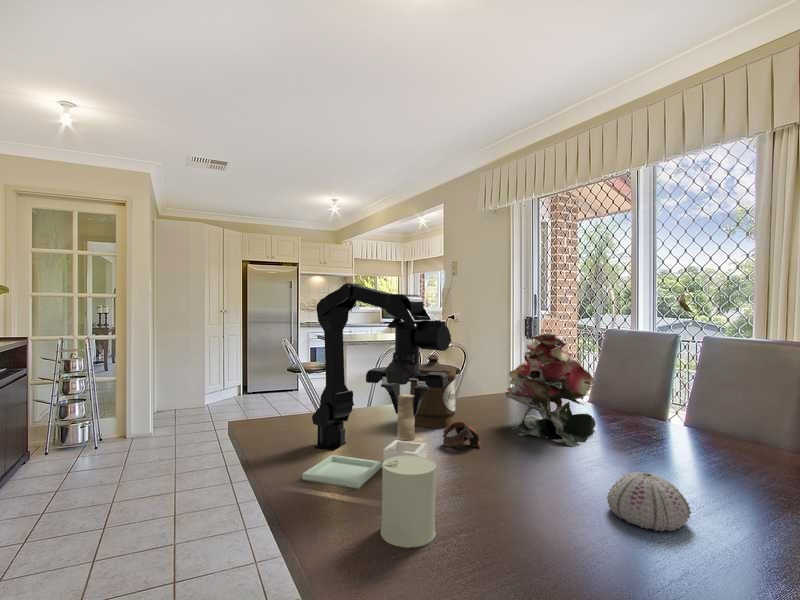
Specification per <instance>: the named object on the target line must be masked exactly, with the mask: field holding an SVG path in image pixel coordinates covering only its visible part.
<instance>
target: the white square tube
mask: <svg viewBox="0 0 800 600" xmlns="http://www.w3.org/2000/svg"><path fill="white" fill-rule="evenodd" d="M427 444H428V443H422V442H417V441H416V442H415V441H408V442H405V441H399V440H398V439H394V440H393V441H392V442H390V444H388V445H387V446H386V447H385V448H384V449H383V450H382V451H383V459H382V460H383V461H382V463H383V462H384V461H385V460H386V459H388V458H391V457H395V456H403V455H411V456H420V457H424V458H427V456H428V455H427V449H428V445H427Z"/></svg>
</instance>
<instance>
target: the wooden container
mask: <svg viewBox="0 0 800 600" xmlns="http://www.w3.org/2000/svg"><path fill="white" fill-rule="evenodd" d="M427 359H428V360H429V361H428V362H427V363H419V369H420V373H419V374H421V375H427V374H428V373H430V372H446V374H447V375H448V385H446V386H445V387H443V388H432V387H431V388H430V389H428V390H427V391H426V393H425V395H424V397H423V399H422V402H421V404H420V407H419V409H418V412H417V415H416V416H415V425H416V426H415V427H420V428H424V427H425V429H446V428H447V427H448V426H449V425H450V424H452V423H454V422H456V375H457V374H456V373H457V369H456V367H455V366H453V365H449V364H443V363H442V364H441V363H439V361H438V360H439V356H438V355H436V354H431V355H428V357H427ZM417 385H418V384H417V382H410V387H409V388H410V391H409V392H410V393H409V395H414V396H415V392H414V387H416V386H417Z"/></svg>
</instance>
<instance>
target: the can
mask: <svg viewBox="0 0 800 600" xmlns="http://www.w3.org/2000/svg"><path fill="white" fill-rule="evenodd" d="M381 471H382V473H381V474H382V478H381V480H382V481H381V482H382V483H381V486H382V487H381V489H382V490H381V491H382V492H381V493H382V495H381V497H382V499H381V528H380V536H381V538H382V539H383V540H384V541H385V542H386V543H388V544H389V545H391V546H395V547H398V546H399V547H400V548H406V549H407V548H408V549H411V548H412V547H413V548H420V547H423V546H426V545H428V544H430V543H431V542H433V541H434V539H435V537H436V534H437V533H436V527H435V525H436V523H435V521H436V519H435V518H436V507H435V506H436V474H437V473H436V472H437V464H436V462H435V461H433V460H432V459H430V458H424V457H420V456H411V455H403V456H395V457H391V458H388V459H386V460H385V461H384V462H383V461H382V468H381Z"/></svg>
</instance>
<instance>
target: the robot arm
mask: <svg viewBox="0 0 800 600" xmlns="http://www.w3.org/2000/svg"><path fill="white" fill-rule="evenodd" d="M357 302H360V303H364V304H366V305H370V306H374V307H378V308H380V309H382V310H383V311H384V310H385V312H386V313H387V314H389V315H390V316H392V317H394V318H393V319H392V321H391V322H389V323H388V324H387V328H389V329H395V330H394V331H395V332H394V352H393V353H392V360H391V362H390V363H389V364H388V366H387V367H386V368H381V367H375V368H371V369H369V370H367V372H366V374H365V382H366V383H368V384H369V383H371V384H379V383H380V381H381V384H380V387H381V388H384V389H385V390H386V392H388V395H389V396H390V400H391V402H392V405H393V408H394V412H395V414H396V415H398V395H401V385H407V384H408V383H409V382H410V383H411V382H417V384H418V385H417V386H416V387H414V392H415V397H414V408H413V413H414V416H416V415H417V412H418V409H419V407H420V404H421V402H422V399H423V397H424V395H425V393H426V391H427V390H428V389H430V388H431V387H432V388H443V387H445V386H446V385H448V375H447V374H446V372H430V373H428V374H427V375H421V374H419V373H420V369H419V364H420V357H421V351H420V349H421V350H427V351H439V352H440V351H441V352H445V351H447V349H449V347H450V344H451V340H452V338H451V337H452V335H451V333H450V330H449V328H448V326H447V325H446V323H447V321H446V320H445V319H438V320H433V319H432V317H431V315H430V314H429V312H428V310H427V309H426V307H425V304H424V300H423V299H422V297H421V296H420V295H418V294H403V293H390V292H386V291H383V290H378V289H376V288H373V287H372V288H371V287H368V286H364V285H360V284H359V283H350V282H348V283H347V282H345V284H342V285H341V286H339V288H337V289H336V290H334V291H332V292H330V293H328V294H327V295H326V296H325V297H323V298H321V299H320V300H319V302H317V303H316V316H317V322H318V323H319V325H320V326H321V328H322V330H323V334H324V336H323V337H324V361H325V362H324V363H325V364H324V365H325V386H324V389H323V391H322V393H321V395H320V399H319V407H318V408H317V409H316V410H315V411H314V413H313V414H312V415H311V420H312V424H313V425H315V426H317V436H316V437H317V439H316V444H314V445H313V446H314V448H318V449H325V450H332V451H336V450H338V449H339V448H341V447H342V446H344V445H346V444H347V441H346V428H345V426H344V422H348V421H349V417H350V414H351V413H352V411H353V407H354V406H355V403H354V391H353V390H351V389H350V390H349V389H348V387H347V386H346V383H345V382H346V381H345V358H344V357H345V356H344V355H345V354H344V351H345V349H344V329H345V328H346V325H347V323H348V321H349V314H350V313H349V312H350V311H352V310H353V309H354V308H355V306H356V304H357Z"/></svg>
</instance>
